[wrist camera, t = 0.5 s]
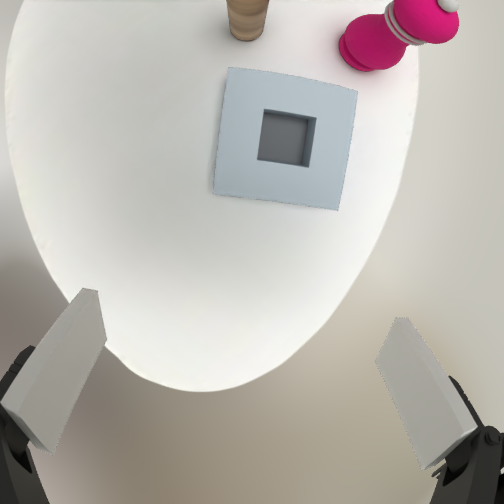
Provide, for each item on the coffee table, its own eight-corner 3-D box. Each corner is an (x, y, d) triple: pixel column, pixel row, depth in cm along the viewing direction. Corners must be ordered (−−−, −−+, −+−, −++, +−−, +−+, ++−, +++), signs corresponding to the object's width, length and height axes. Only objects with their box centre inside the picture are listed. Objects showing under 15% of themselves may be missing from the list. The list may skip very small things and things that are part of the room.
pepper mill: (392, 48, 27) (491, 9, 9) (373, 85, 30) (478, 59, 11) (347, 18, 26) (425, -50, 7) (326, 55, 28) (403, -9, 10)
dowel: (232, 14, 26) (226, -58, 11) (264, 18, 26) (280, -54, 11) (228, 40, 27) (216, -26, 12) (260, 43, 28) (274, -21, 12)
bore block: (230, 76, 29) (228, 67, 25) (343, 96, 30) (357, 91, 26) (216, 186, 35) (212, 194, 30) (326, 200, 36) (337, 210, 31)
